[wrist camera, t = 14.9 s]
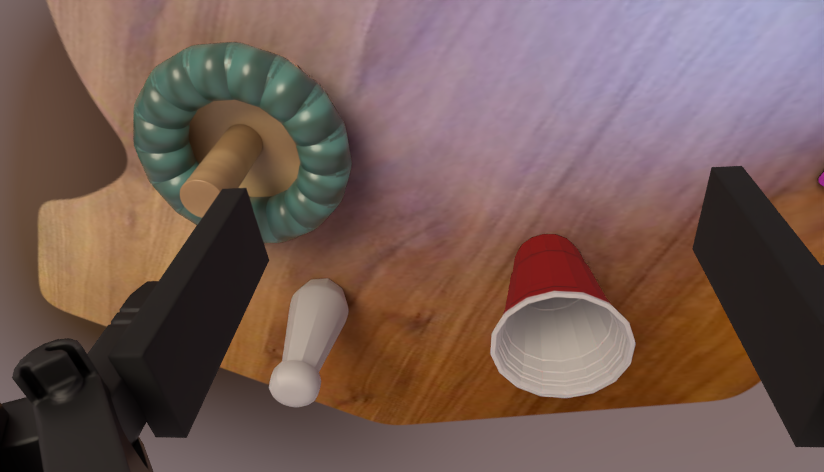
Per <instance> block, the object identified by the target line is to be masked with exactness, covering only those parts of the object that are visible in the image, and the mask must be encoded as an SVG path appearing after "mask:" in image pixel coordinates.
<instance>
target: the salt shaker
mask: <svg viewBox="0 0 824 472" xmlns="http://www.w3.org/2000/svg"><path fill="white" fill-rule="evenodd" d="M347 316H348V305H347V302H346V298H345V295H344V292H343V289H342V288H341V287H340V286H338V285H337V284H335V283H334V282H333V281H331V280H330V279H328V278H326V279H312V280H310V281H308V282H307V283H306V284H305V285H304V286H302V287H301V288H300V289H299V290H298V291H297V292H296V293H294V295H293V297H292V300H291V304H290V309H289V316H288V324H287V331H286V338H285V345H284V353H283V360H282V362H281V363H280V364H279V365H278V366H276V367H275V369H274V370H273V373H272V375H271V379H270V384H269V389H270V392H271V394H272V395H273V397H274V398H275V399H276V400H277V401H279V402H280V403H282V404H284V405H287V406H291V407H301V406H305V405H309V404H310V403H312V402H313V401H315V399H316V397H317V395H318V393H319V389H320V385H321V378H320V375H319V371H320V369H321V367H322V365H323V363H324V361H325V359H326V358H327V356H328V354H329V352H330V350H331V348H332V346H333V345H334V343H335V341H336V339H337V337H338V335H339V333H340V332H341V330H342V328H343V326H344V324H345V322H346V319H347Z"/></svg>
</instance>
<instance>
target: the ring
mask: <svg viewBox="0 0 824 472" xmlns="http://www.w3.org/2000/svg"><path fill="white" fill-rule="evenodd" d="M224 100H237V101H241V102H244V103H247V104H250V105H253V106H256V107H260V108H261V109H262V110H264V111H265V112H267V113H268V114H269V115H271V116H272V117H273V118H275V119H276V120H278V121H279V122H280V123H282V125H283V126H284V128H285V129H286V131H287V132H288V133H289V135H290V136H291V138H292V139H293V141H294V142H295V143H296V148H297V152H298V156H299V160H300V165H299V170H298V175H297V179H296V180H295V181H294V182H293V183H292V185H291V186H290V187H289V188H288V189H287V190H285V191H283V192H281V193H279V194H276V195H274V196H267V197H251V196H249V198H250V201H251V204H252V207H253V210H254V214H255V217H256V220H257V223H258V226H259V230H260V233H261V236H262V239H263V242H264V243H281V242H286V241H289V240H291V239H293V238H296V237H298V236H301V235H303V234H305V233H308V232H310V231H313V230H315V229H316V228H318V227H319V226H320V225H321V224H322V223H323V222H324V221H325V220H326V219H327V217H328V216H329V215H330V214H331V213H332V212H333V211H334V210H335V209H336V208H337V207H338V206H339V204H340V203H341V201H342V199H343V196H344V193H345V189H346V186H347V182H348V178H349V175H350V171H351V165H352V161H351V154H350V149H349V143H348V137H347V132H346V128H345V124H344V122H343V120H342V118H341V117H340V115H339V113H338V112H337V110H336V109H335V107H334V105H333V104H332V102H331V101H330V99H329V98H328V96H327V94H326V93H325V91H324V90H323V88H322V87H321V86H320V85H319V84H318V83H317V82H315V81H314V80H313V79H312V78H310V77H309V76H308V75H306V74H305V73H304V72H303V71H301V70H300V69H299V68H298V67H296V66H295V65H294V64H292V63H291V62H290V61H289V60H287V59H286V58H284V57H282V56H280V55H277V54H274V53H271V52H268V51H265V50H262V49H259V48H255V47H252V46H249V45H246V44H243V43H239V42H227V43H213V44H200V45H193V46H190V47H188V48H186V49H184V50H182V51H181V52H179V53H177V54H176V55H174V56H172V57H171V58H169V59H167V60H166V61H164V62H162V63H161V64H159V65H158V66H156V67H155V68H154V69H153V71H152V72H151V73H150V75H149V77H148V79H147V81H146V83H145V84H144V86H143V88H142V90H141V92H140V93H139V95H138V97H137V99H136V101H135V104H134V146H135V149H136V152H137V154H138V156H139V159H140V161H141V164H142V166H143V168H144V171H145V173H146V175H147V178H148V180H149V181H150V183H151V184H152V186H153V187H154V188H155V189H156V190H157V191H158V192H159V193H160V195H161V196H162V197H163V198H164V199H165V200H166V201H167V202H168V204H169V205H170V206H171V207H172V208H173V209H174V210H175V211H176V212H177V213H178V214H180V215H182V216H183V217H185V218H186V219H188V220H190V221H191V222H193V223H194V224H196V225H198V223H199V222H200V220H201V219H202V218H201V217H198V216H196V215H194V214H192V213H191V212H189V211H188V210H187V209H186V208H185V207H184V205H183V204H182V202H181V199H180V189H181V187H182V185H183V184H184V183H185V182H186V180H187V179H188V178H189V177H190V175H191V174H192V173H193V172H194V170H195V169H196V168H197V167H198V165H199V163H198V161H197V160H196V159H195V156H194V153H193V150H192V147H191V144H190V142H189V130H190V122H191V120H192V119H193V117H194V115H195V114H196V112H197V111H198V109H200V108H202V107H204V106H206V105H207V104H209V103H211V102H213V101H224Z"/></svg>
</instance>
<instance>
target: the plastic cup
mask: <svg viewBox="0 0 824 472" xmlns="http://www.w3.org/2000/svg"><path fill="white" fill-rule="evenodd" d="M635 344H636V343H635V340H634V337H633V334H632V331H631V327H630V324H629V322H628V321H627V320H626V319H625V318H624V317H623V316H622V315H621V314H620V313H619V312H618V311H617V310H616V309H615V308H614V307H613V306H612V305H611V304H610V302H609V301H608V300H607V299H606V297H605V295H604V293H603V292H602V290H601V288H600V286H599V284H598V283H597V281H596V279H595V277H594V276H593V274H592V272H591V270H590V268H589V267H588V265H587V264H586V263H585V262H584V260H583V258H582V256H581V254H580V253H579V251H578V249H577V248H576V247H575V246H574V245H573V244H572V243H571V242H570V241H569V240H568V239H567V238H564V237H561V236H559V235H556V234H542V235H539V236H536V237H532V238H530V239H529V240H528V241H526V242H525V243H523V244H522V246H521V247H520V249H519V250H518V252H517V255H516V256H515V261H514V268H513V273H512V274H511V279H510V285H509V291H508V296H507V302H506V307H505V311H504V312H503V316H502V318H501V319H500V321H499V322H498V324H497V326H496V327H495V329H494V330H493V332H492V339H491V356H492V358H493V360H494V362H495V364H496V366H497V368H498V370H499V372H500V373H501V374H502V375H503V376H504V377H506V378H507V379H508V380H509V381H510V382H511V383H513V384H514V385H515V386H516V387H518V388H521V389H523V390H526V391H529V392H531V393H534V394H537V395H539V396H547V397H559V398H570V397H575V396H581V395H586V394H591V393H594V392H596V391H598V390H600V389H602V388H604V387H606V386H608V385H609V384H611V383H613V382H615V381H616V380H617V379H618V378H619V377H620V376H621V374H622V373H623V372H624V371H625V370H626V369H627V368H628V366H629V365H630V364H631V360H632V356H633V352H634V348H635Z"/></svg>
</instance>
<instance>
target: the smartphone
mask: <svg viewBox="0 0 824 472" xmlns="http://www.w3.org/2000/svg"><path fill="white" fill-rule="evenodd" d="M818 182H819V183H820V185H822V186H824V171H823V172H822V173H821V175H820V176H819V177H818Z"/></svg>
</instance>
